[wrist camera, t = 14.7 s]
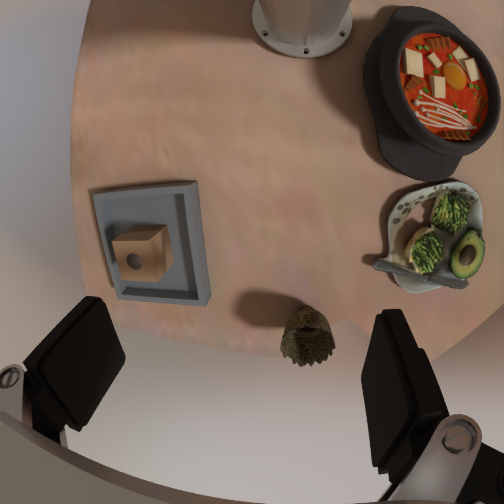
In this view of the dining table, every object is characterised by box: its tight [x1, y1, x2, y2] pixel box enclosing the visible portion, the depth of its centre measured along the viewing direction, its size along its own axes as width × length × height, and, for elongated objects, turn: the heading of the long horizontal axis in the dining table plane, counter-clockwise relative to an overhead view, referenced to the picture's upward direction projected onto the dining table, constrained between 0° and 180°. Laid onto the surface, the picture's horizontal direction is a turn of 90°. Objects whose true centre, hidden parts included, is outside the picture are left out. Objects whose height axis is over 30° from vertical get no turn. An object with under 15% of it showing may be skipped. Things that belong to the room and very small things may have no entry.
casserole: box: [363, 6, 501, 182], centre depth 25 cm, size 25×19×8 cm
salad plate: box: [373, 181, 485, 293], centre depth 35 cm, size 19×18×5 cm
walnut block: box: [112, 225, 174, 282], centre depth 39 cm, size 6×6×6 cm
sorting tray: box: [93, 181, 211, 306], centre depth 42 cm, size 18×16×3 cm
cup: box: [281, 307, 335, 367], centre depth 41 cm, size 8×7×8 cm
